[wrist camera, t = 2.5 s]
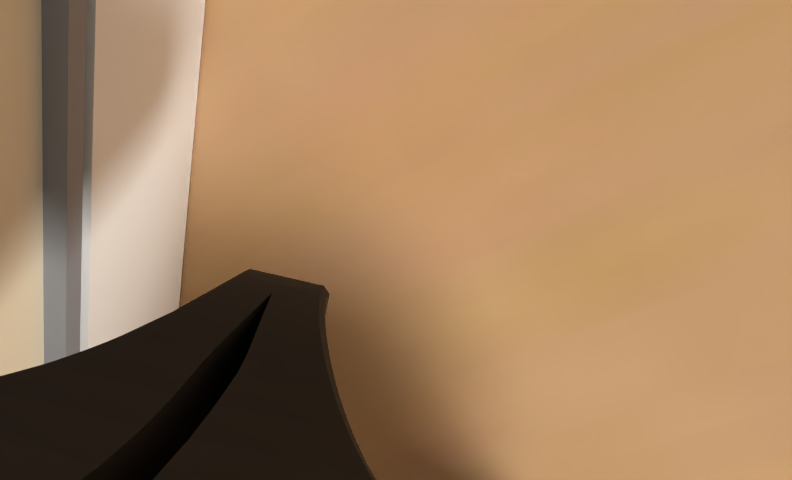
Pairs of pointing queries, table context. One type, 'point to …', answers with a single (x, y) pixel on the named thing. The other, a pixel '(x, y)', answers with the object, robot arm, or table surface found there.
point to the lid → (41, 179)
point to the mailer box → (136, 160)
